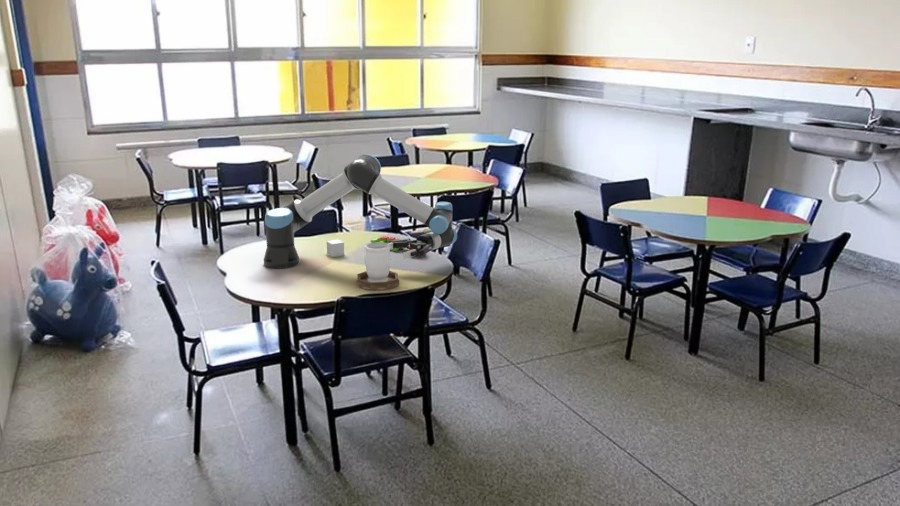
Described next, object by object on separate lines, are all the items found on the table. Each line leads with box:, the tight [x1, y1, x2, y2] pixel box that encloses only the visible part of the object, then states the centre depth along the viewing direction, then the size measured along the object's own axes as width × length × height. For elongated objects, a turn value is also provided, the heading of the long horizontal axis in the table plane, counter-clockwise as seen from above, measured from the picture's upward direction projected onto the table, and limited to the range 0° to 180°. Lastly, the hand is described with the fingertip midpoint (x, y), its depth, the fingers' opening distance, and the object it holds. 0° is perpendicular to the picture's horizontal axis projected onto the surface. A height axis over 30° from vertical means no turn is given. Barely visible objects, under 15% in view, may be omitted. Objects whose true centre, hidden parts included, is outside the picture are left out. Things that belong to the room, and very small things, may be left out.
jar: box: [364, 242, 392, 282], centre depth 276 cm, size 11×10×15 cm
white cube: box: [326, 239, 345, 257], centre depth 314 cm, size 6×6×6 cm
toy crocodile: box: [370, 235, 410, 252], centre depth 325 cm, size 20×7×6 cm, turn 64°
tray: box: [355, 270, 400, 291], centre depth 278 cm, size 17×17×3 cm
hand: (392, 252), depth 281 cm, fingers open, 13 cm apart
